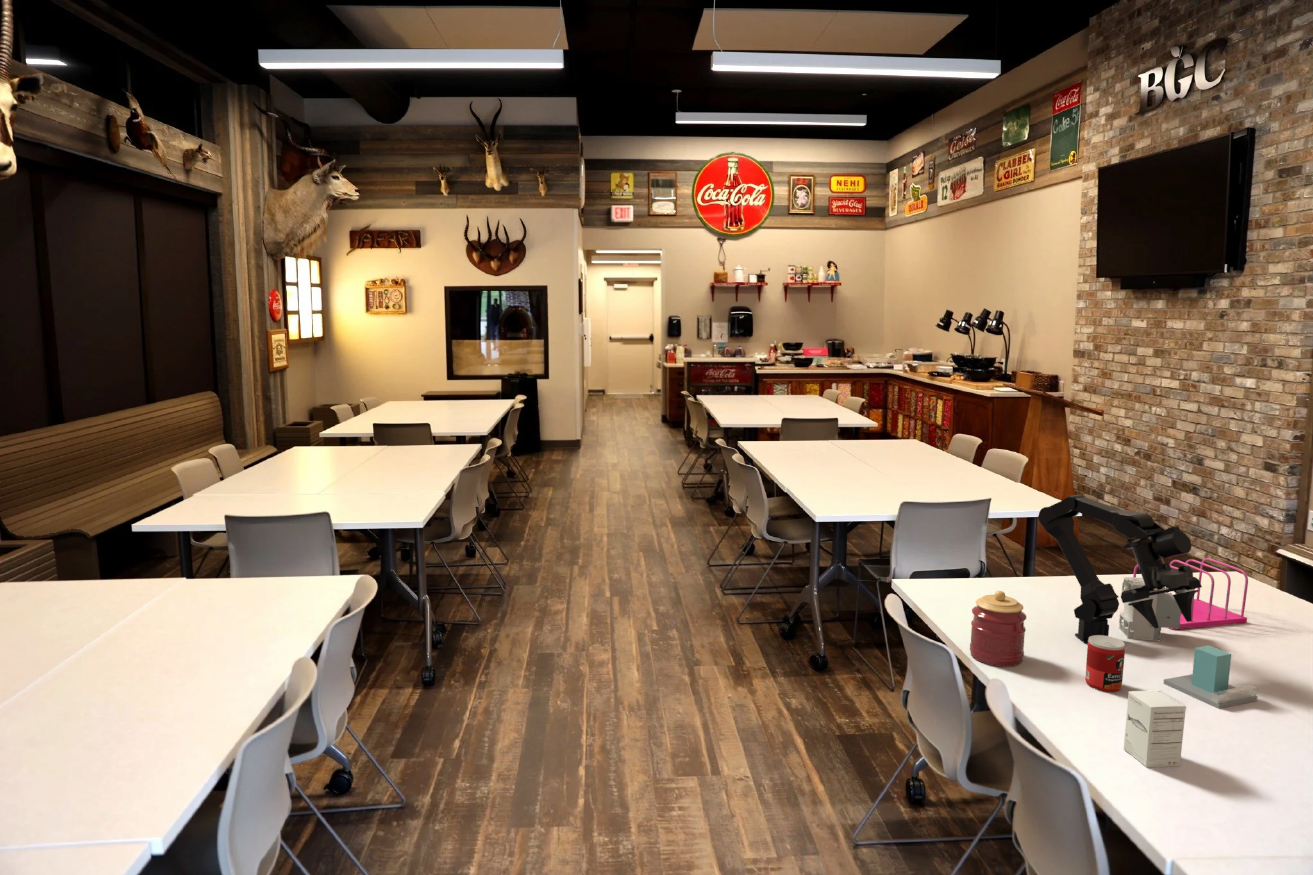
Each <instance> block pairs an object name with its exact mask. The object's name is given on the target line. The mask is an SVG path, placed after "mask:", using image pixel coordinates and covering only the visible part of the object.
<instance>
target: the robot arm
mask: <svg viewBox="0 0 1313 875" xmlns="http://www.w3.org/2000/svg"><path fill="white" fill-rule="evenodd" d="M1079 514H1082V515H1083V516H1087V517H1090V518H1092V519H1094V520H1098V521H1100V522H1102V523H1106V524H1108V525H1110V526H1112V527H1113V528H1114V530H1115V531H1116V532H1118V533H1119V534H1121V535H1123V536H1124V537H1126V538H1128V539H1127V541H1126V543H1125V544H1124V546H1123V549H1124V550H1130V549H1132V552H1133V555H1134V557H1135V560H1136V564H1138V566H1139V567H1138V568H1137V570H1136V575H1141V576H1142V577H1141V578H1143V580H1144V583H1145V585H1144V586H1142V587H1141V588H1136V589H1131V590H1127V591H1123V592H1122V591H1121V594H1120V596H1119V595H1118V594H1117V593H1116V592H1115V589H1114V587H1113V585H1112V584H1111V583H1110V582H1109V583H1104V582H1102V581H1101V580H1100V579H1099V577H1098V574H1097V573H1096V571H1095V569H1094V567H1093V565H1092V564H1091V562H1090V560H1089V559H1088V556H1087V555H1086V552H1085V551H1084V549H1083V547H1082V545H1081V543H1080V542H1079V540H1078V538H1077V536H1076V533H1075V521H1074V517H1076V516H1078V515H1079ZM1037 519H1038V522H1039V524H1040V525H1041V526H1042V528H1043V529H1044V531H1045V532H1046V533H1047V534H1048V535H1050V536H1051V537H1053V539H1055V541H1056V542H1057V543H1058V546H1059V547H1060V549H1061V552H1062V553H1063V556H1064V557H1065V559H1066V561H1067V563H1068V565H1069V567H1070V569H1071V571H1072V573H1073V574H1074V576H1075V578H1076V581H1077V582H1078V584H1079V587H1080V601H1081V604H1080V605H1078V606H1077V607H1075V608H1074V609H1073V612H1074V617H1075V618H1076V619H1078V628H1077V629H1078V630H1077V633H1074V636H1075V637H1076V638H1078V639H1079V640H1080V641H1081V642H1083V643H1084V644H1087V645H1088V639H1089V637H1090V636H1094V635H1103V636H1110V635H1109V633H1110V632H1109V631H1110V625H1109V622H1108V621H1109V619H1112V618H1113V617H1114V615H1115V613H1116V612H1117V611H1118V609H1119V606H1120V602H1119V599H1118V598H1119V597H1120V598H1121V603H1122V604H1124V603H1126V602H1131V603H1130V604H1128V605H1129V606H1130V605H1131V606H1133V607H1134V608H1135V609H1136V610H1137V611H1138V612H1139V613H1140V614H1142V616H1143V617H1144V618H1145V619H1146V620H1147V621H1148V622H1149V623H1150V624H1151V625H1152V626H1153V627H1154V628H1155V629H1156V628H1159V626H1158V622H1157V619H1156V616H1155V613H1154V610H1153V608H1152V603H1153V599H1149V596H1151V595H1156V594H1161V593H1166V592H1168V593H1172V592H1174V594H1173V597H1174V599H1175V601H1176V603H1177V604H1178V606H1179V608H1180V610H1181V612H1182V614H1183V616H1184V618H1185V619H1186V621H1187V622H1190V621H1191V610H1192V598H1193V596H1194V597H1195V594H1197V592H1198V588H1200V589H1201V588H1203V586H1202V582H1201V583H1200V581H1199V578H1197V577H1196V576H1194V573H1193V570H1192V568H1191V567H1190V566H1187V565H1184V564H1183V565H1180V566H1178V568H1179V569H1173V568H1171V567H1170V563H1169V562H1164V559H1170V558H1173V557H1178V556H1180V555H1186V554H1189V553H1190V552H1191V549H1192V542H1191V539H1190V538H1189V536H1188V535H1187V534H1186V533H1185V532H1184V531H1182V530H1180V527H1179V525H1175V526H1171V527H1170V526H1169V527H1168V528H1166V529H1165V528H1163V527H1162V525H1160V524H1158V523H1157V522H1156V521H1154V520H1153V516H1151V515H1150V514H1148V513H1147V512H1139V511H1133V510H1124V509H1123V510H1122V509H1119V508H1117V507H1113V506H1111V505H1107V504H1106V503H1105V504H1104V503H1103V502H1099V501H1097V500H1094V499H1091V498H1088V497H1086V496H1085V495H1083V494H1076V495H1074V494H1073V495H1069V496H1067V497H1066V498H1064V499H1062V500H1061V501H1058V502H1056V503H1053V504H1051V505H1050V506H1043V507H1042V508H1041V509H1040V510H1039V513H1038V515H1037ZM1136 538H1137V539H1136ZM1149 538H1150V539H1149ZM1162 587H1165V588H1164V589H1163V588H1162ZM1156 588H1157V590H1154V589H1156ZM1194 589H1195V590H1194ZM1175 593H1176V594H1175Z"/></svg>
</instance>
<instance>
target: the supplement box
mask: <svg viewBox="0 0 1313 875" xmlns="http://www.w3.org/2000/svg"><path fill="white" fill-rule="evenodd" d="M1127 696H1128V698H1127V708H1126V720H1125V729H1124V738H1123V739H1124V740H1123V750H1124V751H1126V752H1127V753H1129V754H1130V755H1131V756H1133V757H1134V758H1135V759H1136V760H1137V761H1138V762H1140V763H1141V764H1142V765H1143V766H1145V768H1166V767H1180V766H1181V760H1182V750H1183V749H1182V747H1183V740H1184V731H1185V730H1184V729H1185V719H1186V711H1187V706H1186V705H1185V704H1183V703H1181V702H1180V701H1179V700H1176V699H1175V698H1174V697H1172V696H1171V695H1169V694H1168V693H1166V692H1165V691H1163V690H1162V689H1153V690H1133V691H1132V690H1131V691H1128V695H1127Z"/></svg>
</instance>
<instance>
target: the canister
mask: <svg viewBox="0 0 1313 875" xmlns="http://www.w3.org/2000/svg"><path fill="white" fill-rule="evenodd" d="M1023 610H1024V605H1023V604H1022V603H1020V602H1019V601H1018V600H1017V599H1015V598H1013V597H1012V596H1011V597H1010V596H1007V595H1006V594H1005V592H1004V591H1002V590H997V591H996V592H995V593H994V594H986V595H984V596H983V595H982V597H979V598H977V599H976V600H975V606H974V607H972V609H971V613H972V614H973V619H972V620H971V622H970V623H971V630H970V634H971V635H970V643H969V651H970V656H971V657H972V658H973V659H974V660H976V661H978V662H981V663H983V664H986V665H991V666H994V667H995V666H996V667H1014V666H1015V667H1016V666H1019V665H1020V664H1022V663H1023V660H1024V657H1025V650H1024V648H1025V632H1026V631H1027V629H1026V627H1025V621H1026V620H1027V614H1026V613H1025V612H1024V611H1023Z"/></svg>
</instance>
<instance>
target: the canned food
mask: <svg viewBox="0 0 1313 875" xmlns="http://www.w3.org/2000/svg"><path fill="white" fill-rule="evenodd" d="M1086 651H1087V652H1086V663H1085V665H1086V666H1085V677H1084V678H1085V679H1084V680H1085V683H1086V685H1088V686H1089V687H1090V688H1092V689H1094V688H1095V689H1094V690H1097V691H1100V690H1101V691H1102V692H1106V693H1107V692H1108V693H1114V692H1115V693H1116V692H1119V691H1120V690H1121V689H1122V686H1123V678H1124V666H1125V657H1126V656H1125V654H1126V643H1125V642H1124V641H1122V640H1121V639H1118V638H1116V637H1113V636H1110V635H1108V636H1103V635H1094V636H1090V637H1089V639H1088V644H1087V650H1086ZM1101 691H1100V692H1101Z"/></svg>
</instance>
